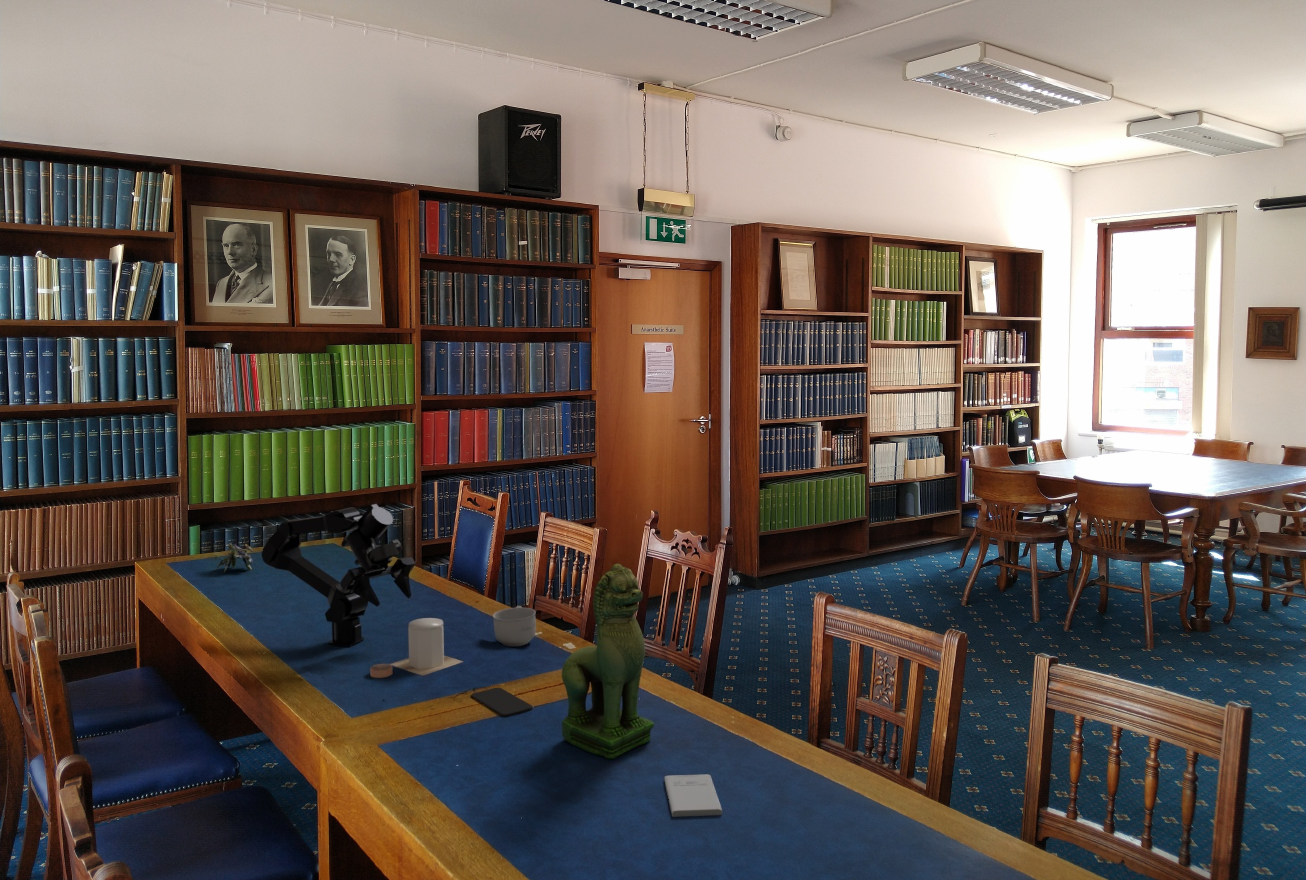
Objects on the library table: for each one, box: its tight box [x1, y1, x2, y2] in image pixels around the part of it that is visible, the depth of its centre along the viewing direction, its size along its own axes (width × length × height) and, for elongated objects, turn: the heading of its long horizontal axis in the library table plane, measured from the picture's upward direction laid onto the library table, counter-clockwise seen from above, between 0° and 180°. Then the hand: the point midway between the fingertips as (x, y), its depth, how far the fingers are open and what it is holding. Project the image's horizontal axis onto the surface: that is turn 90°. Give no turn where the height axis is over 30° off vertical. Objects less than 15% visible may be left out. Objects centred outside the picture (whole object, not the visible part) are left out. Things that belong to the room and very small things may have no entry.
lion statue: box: [561, 563, 655, 760], centre depth 177 cm, size 14×17×35 cm
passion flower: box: [214, 542, 254, 573], centre depth 307 cm, size 11×11×12 cm
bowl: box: [369, 663, 393, 679], centre depth 209 cm, size 5×5×3 cm
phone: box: [470, 687, 534, 718], centre depth 197 cm, size 7×1×15 cm
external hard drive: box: [664, 773, 723, 818], centre depth 156 cm, size 2×8×12 cm
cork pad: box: [389, 655, 464, 677], centre depth 216 cm, size 12×12×2 cm
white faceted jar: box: [407, 617, 445, 669], centre depth 216 cm, size 8×8×10 cm
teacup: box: [492, 605, 537, 647], centre depth 237 cm, size 14×11×8 cm
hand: (394, 601), depth 224 cm, fingers open, 9 cm apart
